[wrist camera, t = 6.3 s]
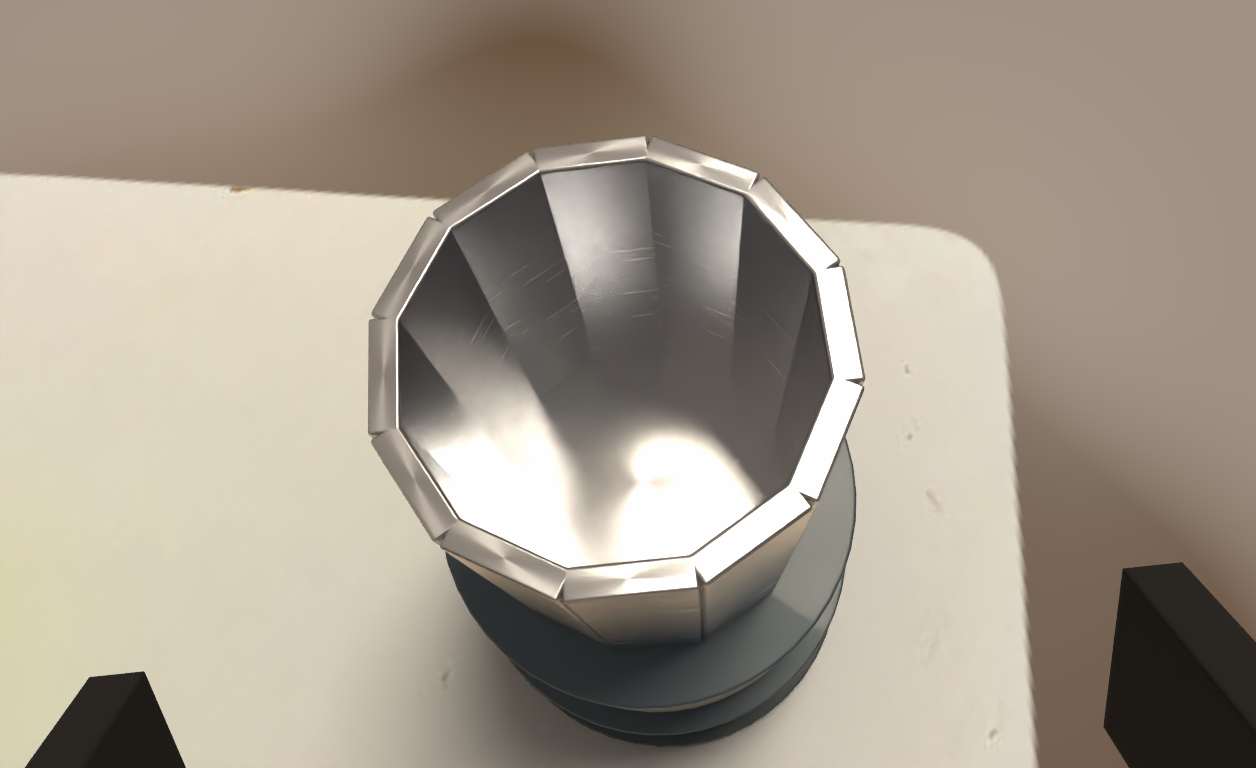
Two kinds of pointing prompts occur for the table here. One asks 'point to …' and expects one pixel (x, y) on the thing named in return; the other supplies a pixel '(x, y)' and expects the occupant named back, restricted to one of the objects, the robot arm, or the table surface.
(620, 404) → the steel cup
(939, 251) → the table surface
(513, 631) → the stepped grey cylinder
